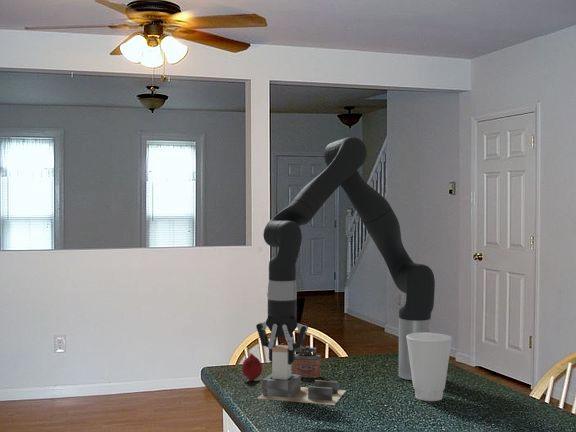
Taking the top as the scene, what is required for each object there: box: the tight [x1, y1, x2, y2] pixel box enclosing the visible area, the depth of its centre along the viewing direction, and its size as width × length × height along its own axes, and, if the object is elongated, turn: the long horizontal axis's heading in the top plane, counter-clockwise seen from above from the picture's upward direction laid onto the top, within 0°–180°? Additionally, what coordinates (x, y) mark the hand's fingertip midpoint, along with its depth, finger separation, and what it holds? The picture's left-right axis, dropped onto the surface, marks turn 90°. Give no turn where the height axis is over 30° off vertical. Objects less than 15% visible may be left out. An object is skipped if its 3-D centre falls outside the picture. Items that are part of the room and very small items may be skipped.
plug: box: [271, 344, 292, 380], centre depth 184 cm, size 4×4×8 cm
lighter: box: [292, 345, 322, 379], centre depth 202 cm, size 8×3×10 cm, turn 84°
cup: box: [406, 332, 453, 402], centre depth 185 cm, size 12×12×16 cm
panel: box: [256, 372, 347, 406], centre depth 182 cm, size 20×14×6 cm
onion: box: [241, 352, 263, 382], centre depth 202 cm, size 6×6×8 cm
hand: (281, 363), depth 184 cm, fingers closed on plug, 4 cm apart
